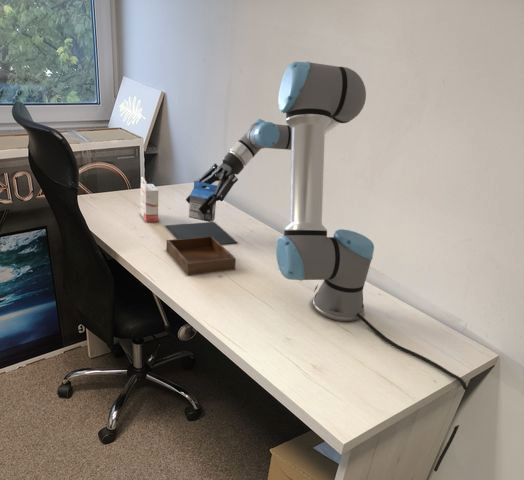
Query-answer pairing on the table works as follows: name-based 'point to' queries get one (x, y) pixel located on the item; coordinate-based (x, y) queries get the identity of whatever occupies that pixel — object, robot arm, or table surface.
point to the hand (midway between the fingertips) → (194, 207)
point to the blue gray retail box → (201, 201)
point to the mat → (200, 232)
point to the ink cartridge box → (149, 201)
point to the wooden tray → (200, 255)
